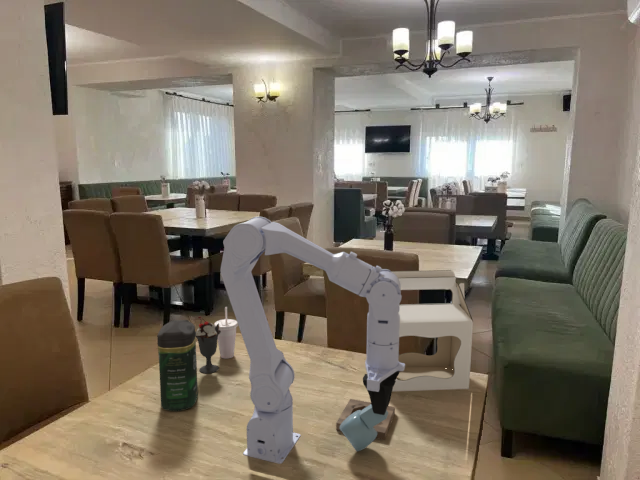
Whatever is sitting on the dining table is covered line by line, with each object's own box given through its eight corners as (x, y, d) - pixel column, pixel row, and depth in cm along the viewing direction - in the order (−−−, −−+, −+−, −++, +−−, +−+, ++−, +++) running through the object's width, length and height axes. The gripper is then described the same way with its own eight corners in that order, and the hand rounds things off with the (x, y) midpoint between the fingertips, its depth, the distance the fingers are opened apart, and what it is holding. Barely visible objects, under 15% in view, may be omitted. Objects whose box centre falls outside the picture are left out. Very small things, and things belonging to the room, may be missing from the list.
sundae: (190, 373, 119) (187, 317, 116) (204, 362, 125) (202, 309, 123) (213, 376, 117) (211, 320, 114) (226, 365, 123) (224, 311, 121)
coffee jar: (195, 411, 101) (191, 331, 98) (158, 414, 100) (152, 333, 97) (200, 389, 111) (197, 316, 107) (166, 392, 110) (161, 317, 106)
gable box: (378, 394, 109) (380, 279, 104) (368, 368, 122) (370, 265, 117) (470, 390, 110) (477, 277, 105) (451, 365, 123) (456, 263, 118)
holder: (384, 442, 90) (385, 432, 90) (336, 431, 94) (336, 422, 93) (394, 415, 100) (394, 407, 99) (350, 407, 103) (350, 398, 103)
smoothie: (241, 351, 132) (239, 304, 130) (235, 361, 126) (233, 312, 124) (219, 350, 133) (217, 303, 130) (212, 360, 127) (210, 311, 124)
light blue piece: (352, 455, 85) (336, 432, 85) (359, 440, 90) (343, 419, 90) (391, 432, 82) (374, 408, 82) (396, 417, 87) (379, 395, 87)
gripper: (397, 359, 74) (395, 435, 77) (411, 327, 88) (409, 394, 90) (355, 352, 77) (354, 427, 79) (375, 323, 90) (374, 387, 93)
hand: (381, 409), depth 85 cm, fingers closed on light blue piece, 2 cm apart
